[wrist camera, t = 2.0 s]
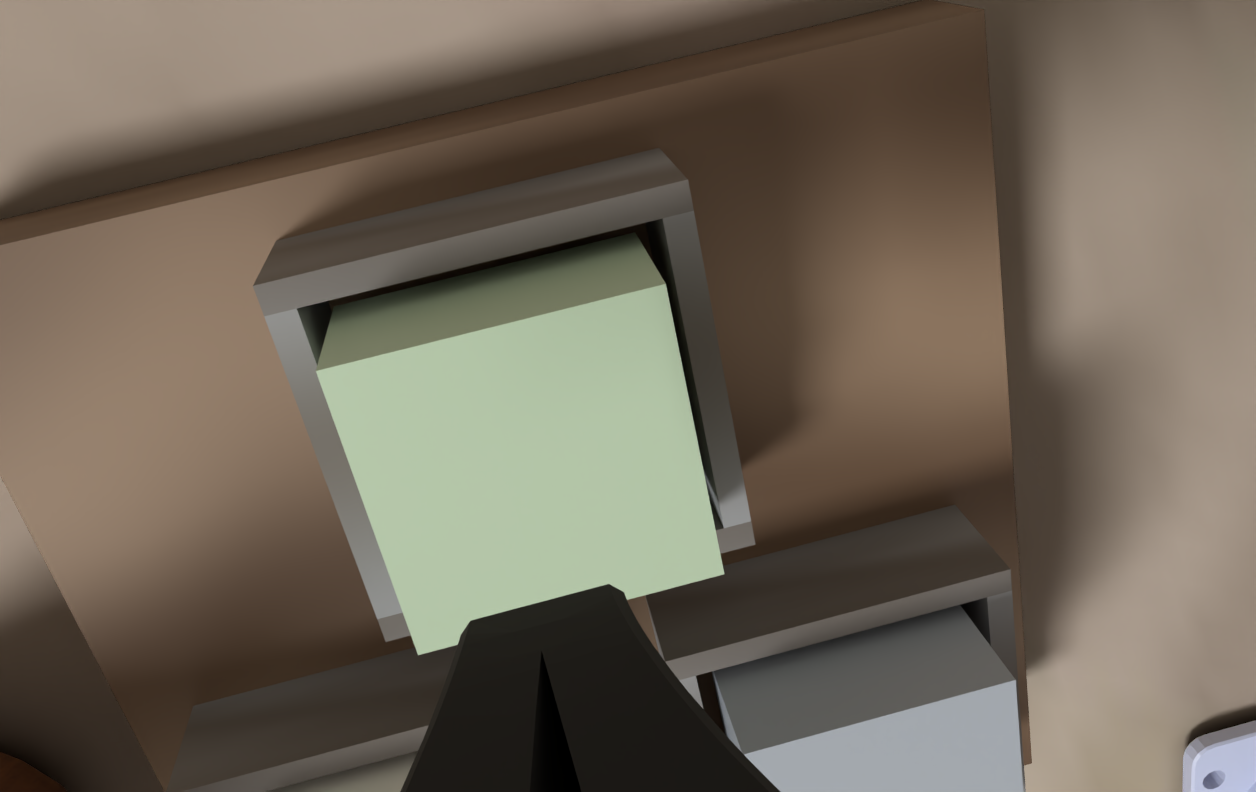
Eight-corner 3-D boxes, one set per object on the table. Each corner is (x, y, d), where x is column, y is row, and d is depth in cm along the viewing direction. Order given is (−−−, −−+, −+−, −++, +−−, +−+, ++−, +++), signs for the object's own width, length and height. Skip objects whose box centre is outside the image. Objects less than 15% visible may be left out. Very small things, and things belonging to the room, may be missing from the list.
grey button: (968, 777, 19) (1029, 878, 17) (747, 838, 19) (784, 947, 17) (951, 592, 17) (1015, 679, 16) (708, 657, 17) (743, 754, 15)
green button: (689, 492, 16) (724, 574, 14) (421, 562, 16) (418, 655, 14) (634, 232, 14) (666, 283, 12) (333, 306, 14) (316, 370, 12)
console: (985, 695, 23) (1087, 842, 19) (276, 890, 22) (242, 1082, 18) (927, -1, 17) (1057, 23, 13) (-45, 231, 16) (-186, 321, 13)
